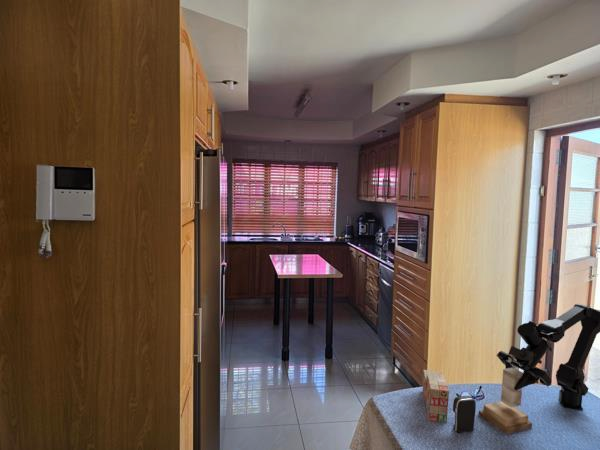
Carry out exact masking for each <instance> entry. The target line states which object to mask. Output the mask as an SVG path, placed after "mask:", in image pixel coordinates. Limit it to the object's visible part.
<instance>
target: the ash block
mask: <svg viewBox="0 0 600 450" xmlns="http://www.w3.org/2000/svg"><path fill="white" fill-rule="evenodd" d="M522 376H523V372H522V371H520V370H519V369H516V367H515V368H513V367H512V368H507V369H505V368H503V369H502V381H501V392H500V393H501V395H500V402H501V401H502V402H503V403H505V404H507V405H508V406H510V407H516V408H517V407H519V406H521V405H522V396H523V388H521V389H518V390H515V389H514V388H515V386H516V384H517V383H518V381H519V380H520V379H521V377H522Z"/></svg>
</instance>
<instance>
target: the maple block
mask: <svg viewBox="0 0 600 450" xmlns="http://www.w3.org/2000/svg"><path fill="white" fill-rule="evenodd" d="M482 410H483V411H484V412H485V413H486V414H488V415H489V416H491V417H492V418H493V419H495V420H496V421H498V422H499V423H500V424H502V425H503V426H504V427H508V426H513V425H518V424H522V423H527V422H528V421H529V415H528V414H527V413H525V412H524V411H522V410H521V409H519V408H518V407H517V406H516V407H510V406H508V405H507V404H505V403H503V402H502V401H501V400H500V401H496V402H490V403H486V404H483V409H482Z"/></svg>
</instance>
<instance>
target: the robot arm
mask: <svg viewBox="0 0 600 450" xmlns="http://www.w3.org/2000/svg"><path fill="white" fill-rule="evenodd" d="M579 322H580V324H581V330H580V332H579V334H578V337H577V339H576V342H575V345H574V347H573V349H572V351H571V354H570V356H569V358H568V360H567V361H566V362H565V363H560V364H559V366H558V369H557V370H556V373H555V379H556V385H557V386H559V387H561V388H560V389H559V392H558V401H559V402H560V404H561V405H562V406H563V408H568V409H574V410H581V411H583V410H584V407H583V405H582V403H583V397H584V396H586V395H587V394H588V392H589V387H588V386H587V385H586V383H585V382H584V381H585V373H584V366H585V364H586V361H587V359H588V357H589V354H590V352H591V350H592V347H593V345H594V343H595V339H596V338H597V336H598V334H599V333H600V309H596V308H592V307H590V306H589V305H586V304H582V303H576V304H574V305H573V307H571V308H570V309H569V310H567V311H565V312H564V313H562V314H561V315H559V316H558V317H556V318H554V319H547V320H544V321H542V322H540V323H539V324H537V323H535V321H532V320H529V321H528V322H524V323H522V324H520V325H518V327H517V329H516V330H517V333H518V335H519V336H520V338H521V339H522V340H523V342H525V344H526V345H527V346H526V347H524V346H523V347H522V348H518V347H516V346H513V345H511V346H510V349H509V351H508V353H507V352H505V351H503V350H501V351H499V352H498V353H497V354H496V357H497V358H498V359H499V360H500V362H501V363H502V364H503V365H504V367H505V368H504V369H507V368H512V367H513V368H515V369H516V368H518V369H520V370H522V371H523V376H522V377H521V379H520V380H519V381H518V383H517V384H516V386H515V388H514V389H515V390H518V389H521V388H522V389H523V388H525V387H528V386H530V385H533V384H537V385H538V384H539V383H540V384H542V385H544V386H546V387H549V386H550V385H551V384H552V378H551V377H550V375H549V374H548V373H547V371H545V370H544V369H541V368H539V367H537V366H538V364H539V365H541V364H542V363H543V361H542V360H541V359H543V357H544V356H545V355H546V353H547V352H548V351H549V352H552V351H553V348H552V344H551V343H549V342H552V343H554V344H555V343H556V344H557V343H559V341H561V340H562V339H563V338H564V337H565V332H566V331H567V330H569V329H570V328H572V327H573V326H575V325H576V324H577V323H579ZM548 341H549V342H548ZM512 356H513V357H512Z"/></svg>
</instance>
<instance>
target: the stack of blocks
mask: <svg viewBox="0 0 600 450" xmlns="http://www.w3.org/2000/svg"><path fill="white" fill-rule="evenodd" d="M422 393H423V399H424V403H425V407H426V414H427V418H428V421H429V422H436V423H438V422H439V423H443V422H444V424H445V423H446V424H447V423H448V407H449V397H450V390H449V386H448V384H447V380H446V379H445V376H444V374H443V373H442V374H441V373H440V371H439V370H431V369H430V370H428V369H423V371H422Z"/></svg>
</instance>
